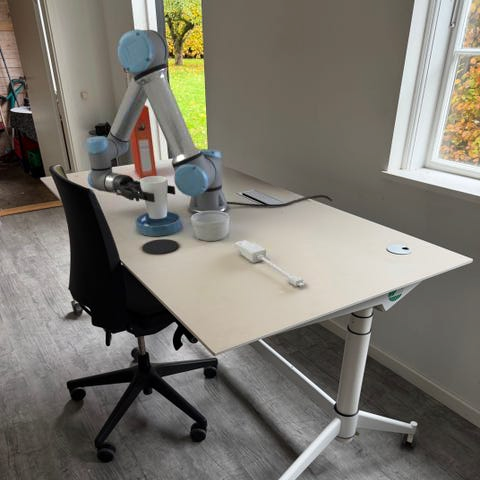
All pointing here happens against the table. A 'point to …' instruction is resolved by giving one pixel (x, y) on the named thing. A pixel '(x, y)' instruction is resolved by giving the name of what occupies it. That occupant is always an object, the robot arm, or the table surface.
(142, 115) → the file binder
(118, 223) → the table surface
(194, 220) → the ramekin
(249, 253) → the charging cable
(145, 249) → the mat
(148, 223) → the bowl
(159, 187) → the foam cup
